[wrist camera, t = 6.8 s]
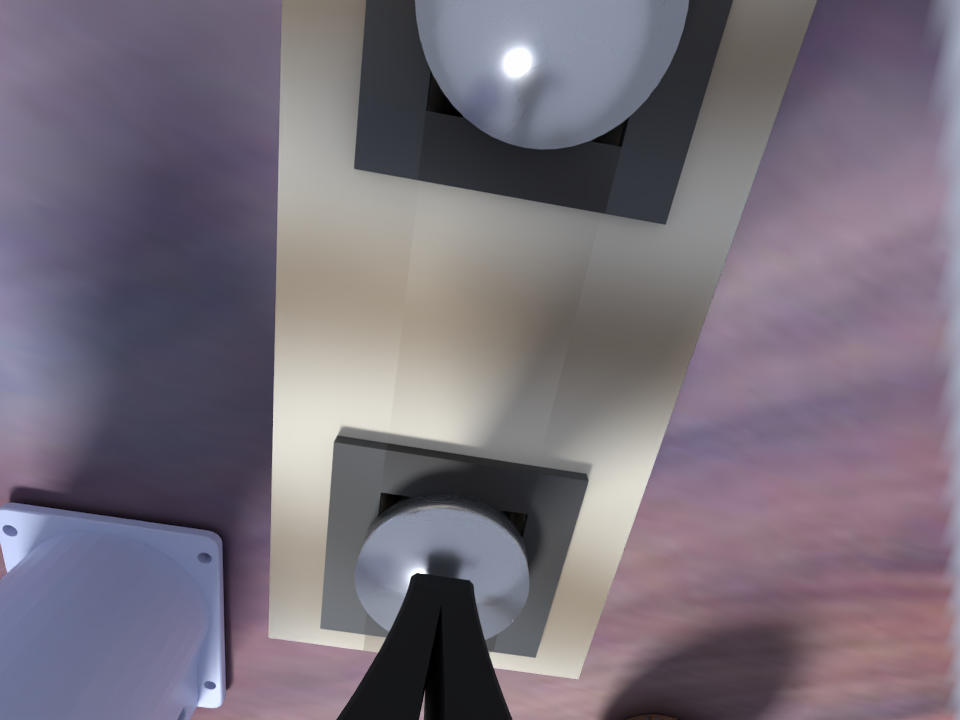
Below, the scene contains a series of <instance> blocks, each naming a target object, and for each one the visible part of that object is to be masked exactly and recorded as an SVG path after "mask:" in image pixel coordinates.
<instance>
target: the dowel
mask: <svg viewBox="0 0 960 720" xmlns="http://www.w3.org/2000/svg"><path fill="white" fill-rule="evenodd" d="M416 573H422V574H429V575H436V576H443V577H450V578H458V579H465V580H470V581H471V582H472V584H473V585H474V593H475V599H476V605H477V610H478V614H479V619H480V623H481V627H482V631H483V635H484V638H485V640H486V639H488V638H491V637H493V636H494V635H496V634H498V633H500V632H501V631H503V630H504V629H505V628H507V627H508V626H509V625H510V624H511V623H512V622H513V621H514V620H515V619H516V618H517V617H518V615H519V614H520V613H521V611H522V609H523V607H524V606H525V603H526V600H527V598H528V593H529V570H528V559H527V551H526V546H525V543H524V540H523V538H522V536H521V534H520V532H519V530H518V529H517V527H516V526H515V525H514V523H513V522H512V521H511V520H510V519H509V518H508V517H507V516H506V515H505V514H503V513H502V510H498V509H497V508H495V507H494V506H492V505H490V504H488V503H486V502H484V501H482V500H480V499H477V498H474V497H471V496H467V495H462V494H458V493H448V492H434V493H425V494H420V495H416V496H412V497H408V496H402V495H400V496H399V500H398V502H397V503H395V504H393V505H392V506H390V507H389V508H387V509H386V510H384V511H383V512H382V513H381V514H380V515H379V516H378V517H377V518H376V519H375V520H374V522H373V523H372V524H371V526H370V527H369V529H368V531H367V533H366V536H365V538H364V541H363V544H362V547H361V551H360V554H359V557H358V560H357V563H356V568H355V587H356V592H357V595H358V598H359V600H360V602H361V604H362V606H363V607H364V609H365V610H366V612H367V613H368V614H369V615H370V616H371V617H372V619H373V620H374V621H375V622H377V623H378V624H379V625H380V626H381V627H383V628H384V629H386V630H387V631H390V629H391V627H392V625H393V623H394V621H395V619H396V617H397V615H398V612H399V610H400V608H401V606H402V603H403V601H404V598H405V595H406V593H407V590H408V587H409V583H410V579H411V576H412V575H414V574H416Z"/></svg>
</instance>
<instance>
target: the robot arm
mask: <svg viewBox="0 0 960 720" xmlns="http://www.w3.org/2000/svg"><path fill="white" fill-rule="evenodd" d="M0 543H1V547H2V552H3V556H4V560H5V565H6V569H7V574H6V575H5V576H4V577H2V578H1V579H0V720H190V719H191V717H192V715H193V713H194V711H195V709H196V707H197V706H200V707H207V708H216V707H219V706H220V705H222V703H223V701H224V699H225V696H226V679H225V637H224V595H223V552H222V540H221V538H220V537H219V536H218V535H217V534H216V533H214V532H212V531H207V530H201V529H194V528H187V527H180V526H173V525H166V524H159V523H152V522H145V521H138V520H131V519H124V518H117V517H110V516H103V515H96V514H89V513H82V512H75V511H68V510H61V509H54V508H47V507H40V506H33V505H26V504H19V503H6V504H4V505H3V506H1V507H0ZM205 553H207V554H209V555H210V556H209V555H206V554H205ZM424 692H425V706H424V720H512V717H511V715H510V712H509V710H508V707H507V704H506V702H505V699H504V696H503V694H502V691H501V688H500V686H499V683H498V680H497V677H496V674H495V671H494V668H493V665H492V661H491V658H490V655H489V652H488V649H487V645H486V642H485V638H484V635H483V631H482V627H481V623H480V619H479V614H478V610H477V605H476V599H475V593H474V585H473V584H472V582H471V581H470V580H465V579H458V578H450V577H443V576H436V575H429V574H422V573H416V574H414V575H412V576H411V579H410V583H409V587H408V590H407V593H406V595H405V598H404V601H403V603H402V606H401V608H400V610H399V612H398V615H397V617H396V619H395V621H394V623H393V625H392V627H391V629H390V631H389V633H388V635H387V637H386V639H385V641H384V643H383V645H382V647H381V648H380V650H379V652H378V654H377V656H376V658H375V659H374V661H373V663H372V664H371V666H370V668H369V669H368V671H367V673H366V674H365V676H364V678H363V679H362V681H361V683H360V684H359V686H358V688H357V689H356V691H355V692H354V694H353V696H352V697H351V699H350V700H349V702H348V703H347V705H346V706H345V708H344V709H343V711H342V712H341V714H340V715H339V717H338V718H337V719H336V720H419V716H420V712H421V707H422V702H423V697H424Z"/></svg>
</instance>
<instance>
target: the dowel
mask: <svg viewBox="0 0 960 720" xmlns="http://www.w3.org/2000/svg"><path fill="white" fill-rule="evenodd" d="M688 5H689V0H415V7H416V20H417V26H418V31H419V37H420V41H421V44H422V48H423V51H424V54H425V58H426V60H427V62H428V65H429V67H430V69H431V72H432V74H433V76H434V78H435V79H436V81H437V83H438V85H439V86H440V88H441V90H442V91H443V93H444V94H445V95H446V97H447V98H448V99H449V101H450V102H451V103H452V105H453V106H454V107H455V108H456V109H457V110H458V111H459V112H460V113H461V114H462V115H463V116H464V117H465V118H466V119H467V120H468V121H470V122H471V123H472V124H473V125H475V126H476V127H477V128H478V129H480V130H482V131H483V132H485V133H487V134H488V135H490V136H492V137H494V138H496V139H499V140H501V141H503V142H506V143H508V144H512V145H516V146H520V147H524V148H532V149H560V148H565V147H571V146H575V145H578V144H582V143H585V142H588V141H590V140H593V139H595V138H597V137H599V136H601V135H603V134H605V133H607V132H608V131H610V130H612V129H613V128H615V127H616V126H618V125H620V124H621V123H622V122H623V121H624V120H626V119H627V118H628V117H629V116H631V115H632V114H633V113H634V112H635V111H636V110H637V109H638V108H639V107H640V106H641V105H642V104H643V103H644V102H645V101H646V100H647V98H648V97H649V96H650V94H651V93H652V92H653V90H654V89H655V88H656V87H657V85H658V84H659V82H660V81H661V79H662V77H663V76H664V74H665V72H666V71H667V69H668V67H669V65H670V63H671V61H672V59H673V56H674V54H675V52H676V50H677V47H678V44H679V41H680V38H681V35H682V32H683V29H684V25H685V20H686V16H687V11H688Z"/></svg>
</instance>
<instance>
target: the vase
mask: <svg viewBox="0 0 960 720" xmlns="http://www.w3.org/2000/svg"><path fill="white" fill-rule="evenodd" d="M627 720H678V719H675V718H672V717H669V716H665V715H656V714H649V715H640V716H636V717H632V718H629V719H627Z"/></svg>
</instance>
